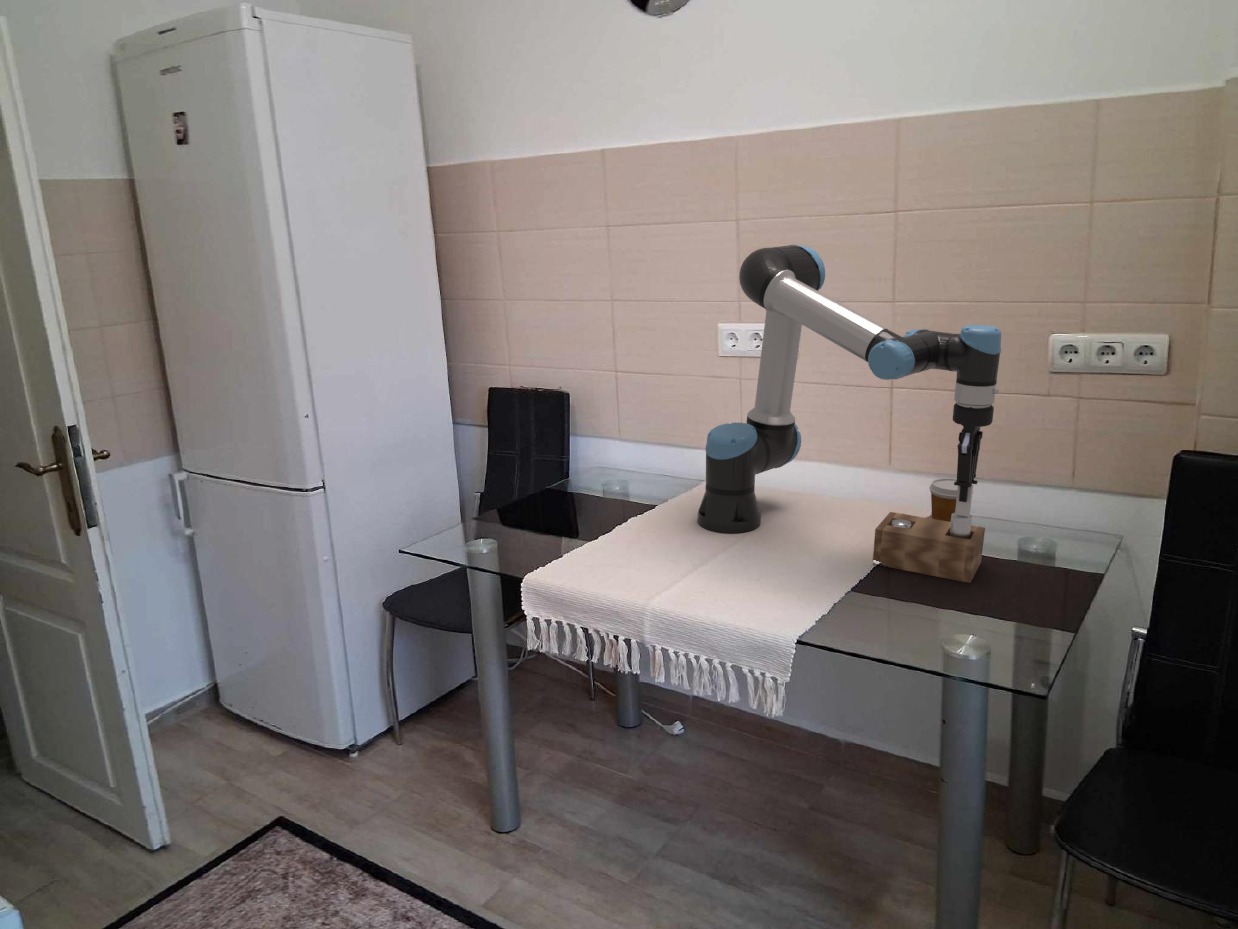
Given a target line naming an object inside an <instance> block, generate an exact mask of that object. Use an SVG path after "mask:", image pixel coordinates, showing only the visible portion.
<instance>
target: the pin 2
mask: <svg viewBox="0 0 1238 929" xmlns="http://www.w3.org/2000/svg"><path fill="white" fill-rule="evenodd" d="M972 520H973V516H972V515H971V514H970V515H969V517H966V516H960V515H955V513H952V515H951V524H950V534H949V536H952V537H958V538H963V539H970V530H971V525H972Z"/></svg>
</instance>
